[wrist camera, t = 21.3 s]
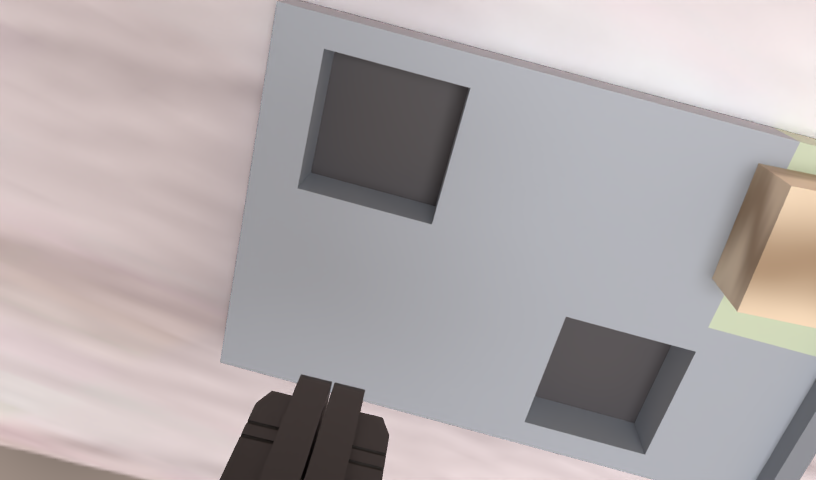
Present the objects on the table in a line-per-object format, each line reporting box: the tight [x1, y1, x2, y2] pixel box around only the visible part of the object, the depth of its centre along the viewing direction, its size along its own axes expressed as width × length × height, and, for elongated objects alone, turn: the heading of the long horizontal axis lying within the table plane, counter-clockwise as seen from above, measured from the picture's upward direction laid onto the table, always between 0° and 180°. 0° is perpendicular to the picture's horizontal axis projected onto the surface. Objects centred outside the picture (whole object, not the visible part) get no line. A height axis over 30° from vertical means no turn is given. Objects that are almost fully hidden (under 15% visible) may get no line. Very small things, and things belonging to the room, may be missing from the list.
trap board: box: [220, 0, 816, 480], centre depth 34 cm, size 20×32×4 cm, turn 76°
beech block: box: [712, 163, 816, 328], centre depth 30 cm, size 6×6×4 cm
